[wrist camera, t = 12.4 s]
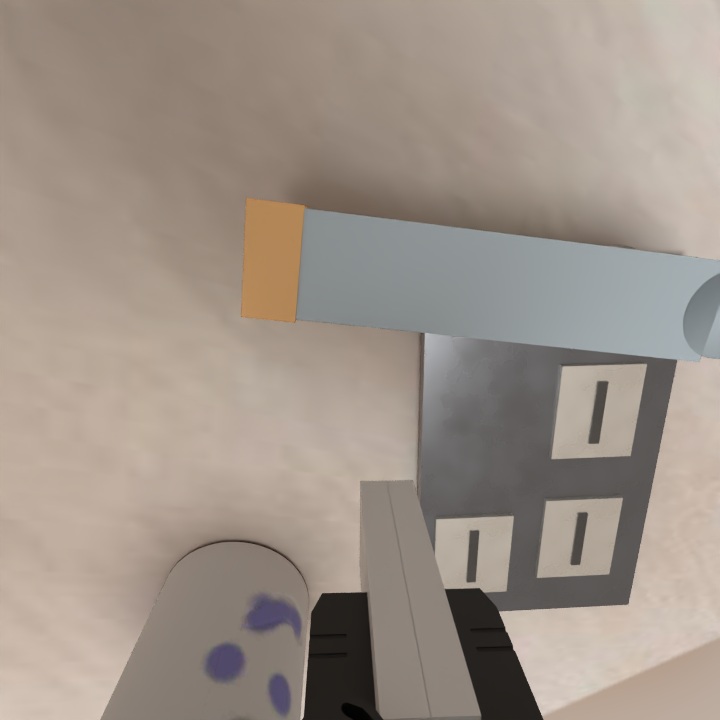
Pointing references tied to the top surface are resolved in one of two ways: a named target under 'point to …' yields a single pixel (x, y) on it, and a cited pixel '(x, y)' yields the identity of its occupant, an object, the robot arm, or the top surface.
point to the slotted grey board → (538, 467)
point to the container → (220, 641)
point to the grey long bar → (476, 284)
